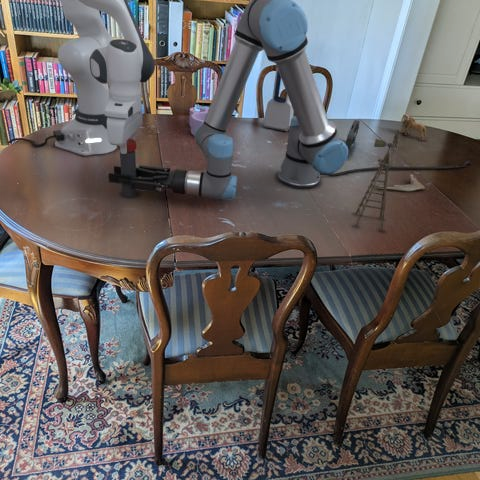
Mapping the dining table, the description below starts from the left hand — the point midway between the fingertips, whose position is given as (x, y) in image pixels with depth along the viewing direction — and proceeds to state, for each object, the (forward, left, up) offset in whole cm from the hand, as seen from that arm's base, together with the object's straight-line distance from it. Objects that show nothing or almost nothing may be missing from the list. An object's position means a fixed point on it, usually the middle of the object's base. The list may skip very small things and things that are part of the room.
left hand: (127, 149), depth 139 cm
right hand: (-5, -1, -9) cm, 10 cm away
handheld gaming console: (+63, +75, -15) cm, 99 cm away
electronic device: (+29, +86, -15) cm, 92 cm away
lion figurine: (+89, +109, -15) cm, 142 cm away
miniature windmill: (+74, +15, -15) cm, 77 cm away
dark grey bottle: (0, 0, -15) cm, 15 cm away
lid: (0, 0, +2) cm, 2 cm away
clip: (+1, +65, -15) cm, 67 cm away
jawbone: (+83, +49, -15) cm, 97 cm away
